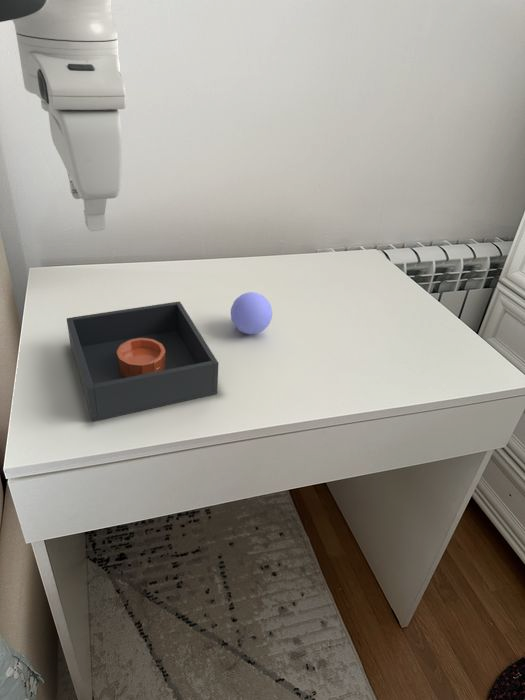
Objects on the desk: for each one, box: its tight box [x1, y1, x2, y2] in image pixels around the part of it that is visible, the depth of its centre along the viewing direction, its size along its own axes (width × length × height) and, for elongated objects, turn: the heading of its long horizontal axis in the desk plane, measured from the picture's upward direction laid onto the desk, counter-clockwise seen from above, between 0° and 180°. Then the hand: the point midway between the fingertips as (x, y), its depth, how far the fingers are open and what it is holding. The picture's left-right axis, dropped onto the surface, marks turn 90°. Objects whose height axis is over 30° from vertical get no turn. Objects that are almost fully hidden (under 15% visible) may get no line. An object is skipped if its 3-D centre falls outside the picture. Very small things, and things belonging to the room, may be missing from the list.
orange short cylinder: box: [117, 338, 166, 378], centre depth 79 cm, size 7×7×3 cm
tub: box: [66, 301, 219, 423], centre depth 78 cm, size 18×18×6 cm
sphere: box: [230, 291, 273, 335], centre depth 89 cm, size 7×7×7 cm
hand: (87, 211), depth 58 cm, fingers open, 8 cm apart
